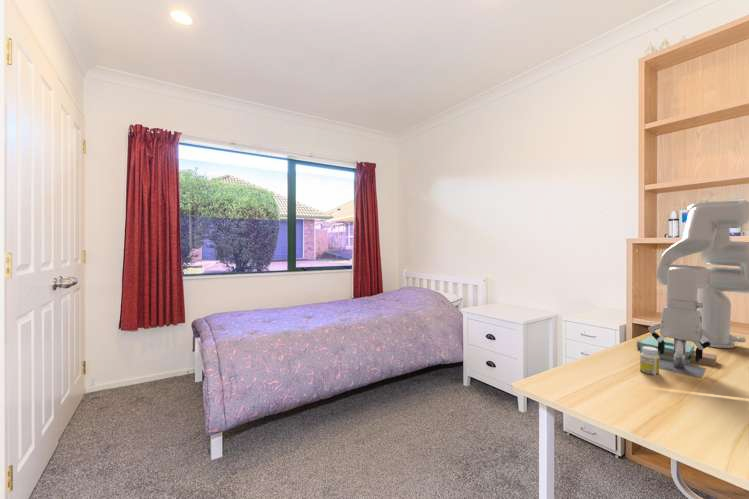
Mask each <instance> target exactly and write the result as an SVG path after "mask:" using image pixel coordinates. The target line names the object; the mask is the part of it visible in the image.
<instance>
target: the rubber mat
mask: <svg viewBox="0 0 749 499" xmlns="http://www.w3.org/2000/svg"><path fill="white" fill-rule="evenodd" d="M659 370H663V371H668V372H672V373H676V374H679V375H685V376H690V377H694V378H698V379H702V378H703V376H704V374H705V371H706V370H707V368H705V367H702V366H696V365H692V364H689V363H685V369H677V368H674V367H673V360H670V359H665V358H660V357H659Z"/></svg>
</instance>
